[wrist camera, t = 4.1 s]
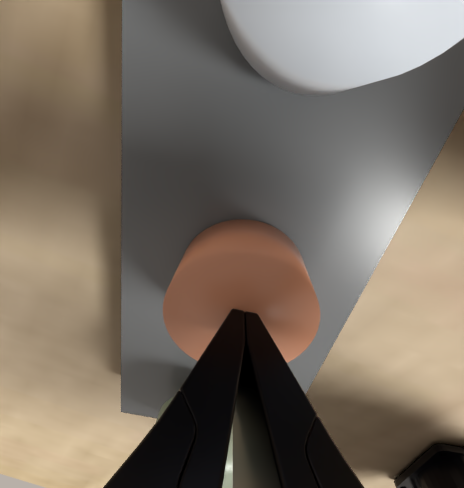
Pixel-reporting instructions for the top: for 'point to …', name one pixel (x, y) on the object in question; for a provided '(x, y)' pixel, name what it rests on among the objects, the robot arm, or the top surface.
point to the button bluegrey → (340, 39)
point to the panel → (257, 174)
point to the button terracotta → (241, 287)
